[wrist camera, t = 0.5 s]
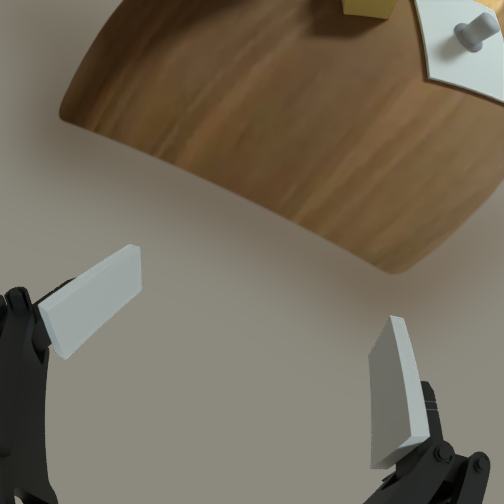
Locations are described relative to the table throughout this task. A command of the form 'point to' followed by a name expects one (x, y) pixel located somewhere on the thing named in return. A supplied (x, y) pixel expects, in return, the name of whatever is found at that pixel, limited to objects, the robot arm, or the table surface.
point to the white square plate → (463, 45)
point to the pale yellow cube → (369, 8)
